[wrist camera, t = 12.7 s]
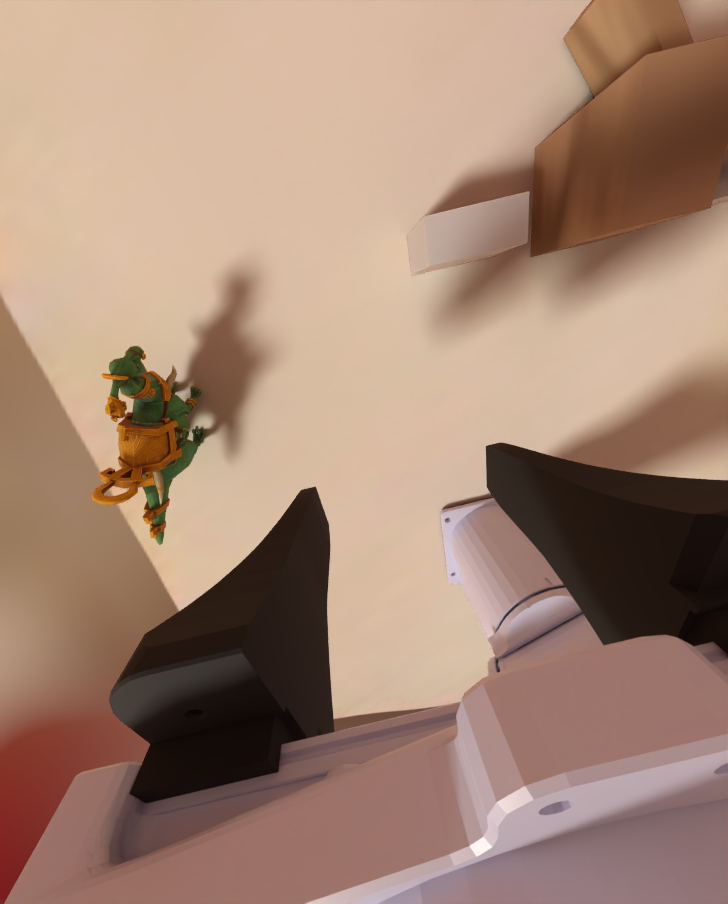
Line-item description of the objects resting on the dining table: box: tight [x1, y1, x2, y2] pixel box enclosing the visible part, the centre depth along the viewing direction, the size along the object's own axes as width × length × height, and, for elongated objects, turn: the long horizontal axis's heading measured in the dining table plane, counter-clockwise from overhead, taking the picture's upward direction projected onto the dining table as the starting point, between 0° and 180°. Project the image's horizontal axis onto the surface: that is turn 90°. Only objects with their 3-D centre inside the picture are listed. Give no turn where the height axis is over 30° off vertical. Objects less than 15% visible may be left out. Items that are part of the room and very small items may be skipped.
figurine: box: [92, 346, 206, 545], centre depth 16 cm, size 3×12×8 cm, turn 170°
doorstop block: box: [531, 35, 728, 257], centre depth 14 cm, size 5×4×6 cm
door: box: [563, 0, 728, 151], centre depth 13 cm, size 2×9×3 cm, turn 51°
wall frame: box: [407, 150, 728, 276], centre depth 15 cm, size 2×20×4 cm, turn 102°
